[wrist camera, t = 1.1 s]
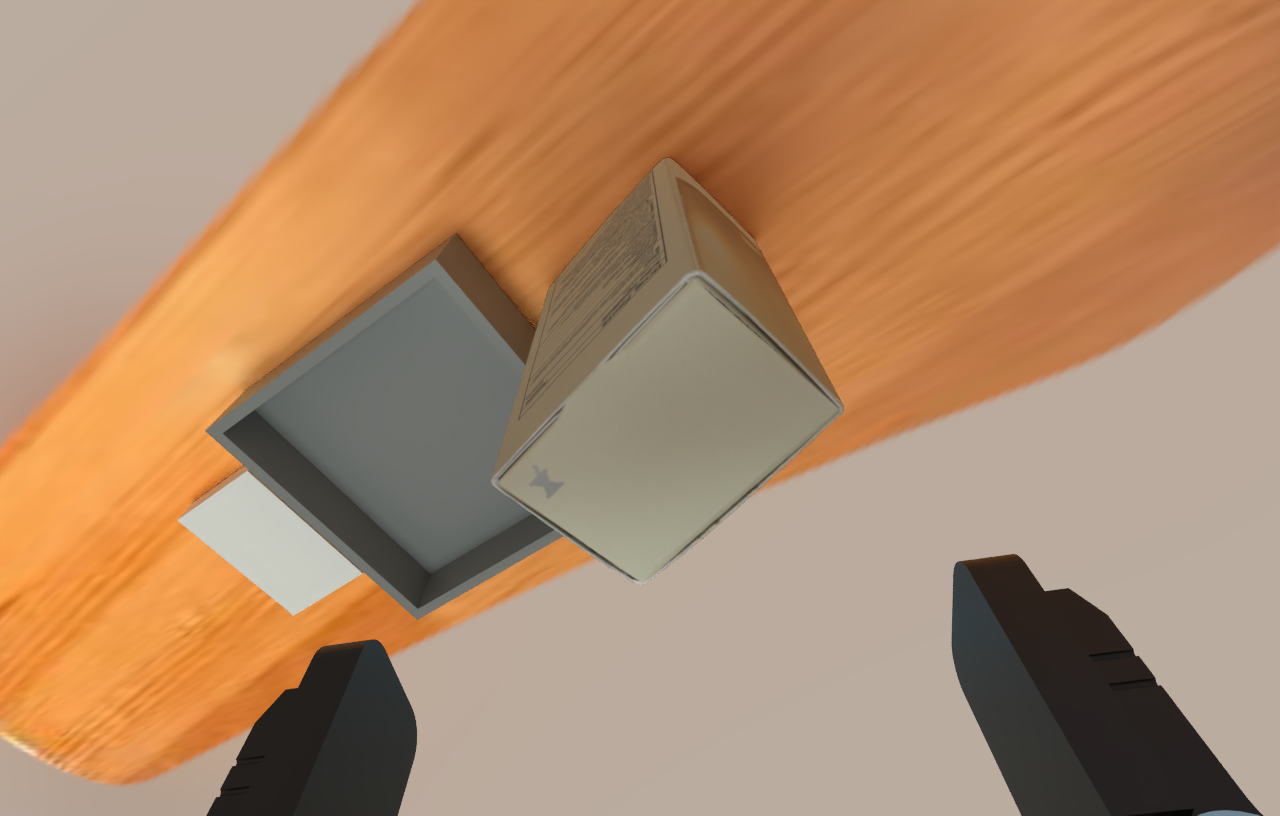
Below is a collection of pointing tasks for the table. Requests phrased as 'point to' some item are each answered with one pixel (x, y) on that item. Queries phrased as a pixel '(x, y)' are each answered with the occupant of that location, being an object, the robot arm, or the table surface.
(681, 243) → the skincare box
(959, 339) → the table surface
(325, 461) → the grey open tray
